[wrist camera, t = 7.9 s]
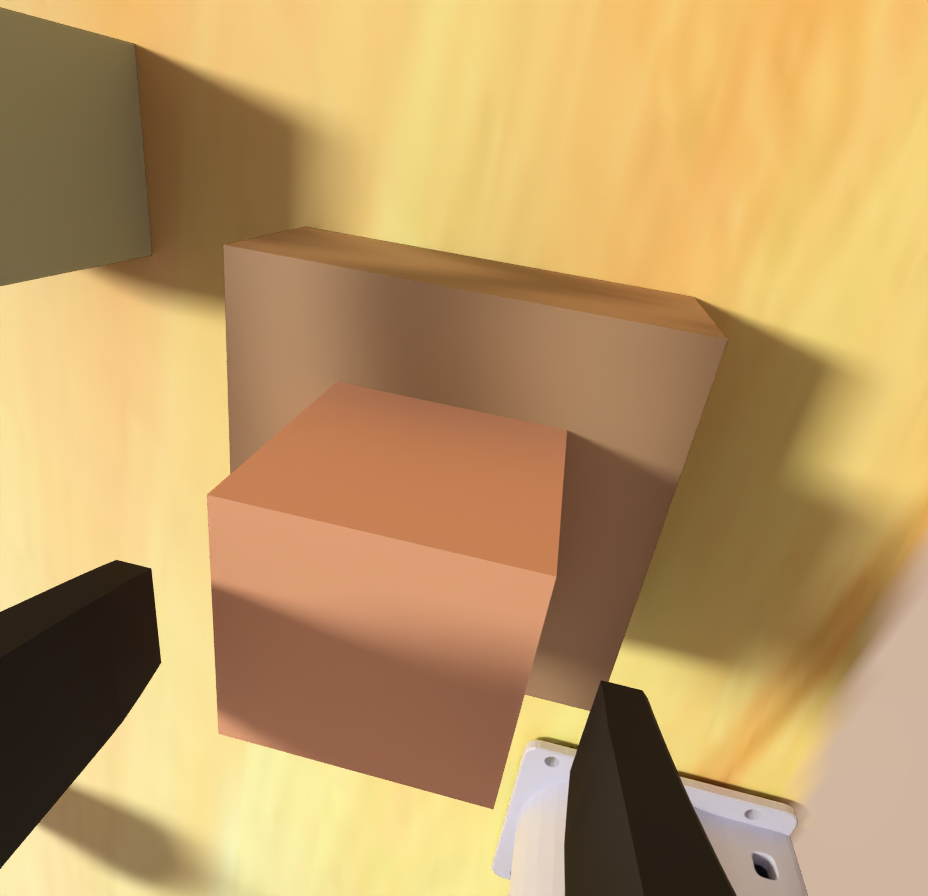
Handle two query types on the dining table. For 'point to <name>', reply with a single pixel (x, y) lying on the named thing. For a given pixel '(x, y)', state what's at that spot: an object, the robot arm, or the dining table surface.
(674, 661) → the dining table surface
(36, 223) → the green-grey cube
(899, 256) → the dining table surface
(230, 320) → the walnut block
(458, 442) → the terracotta cube
